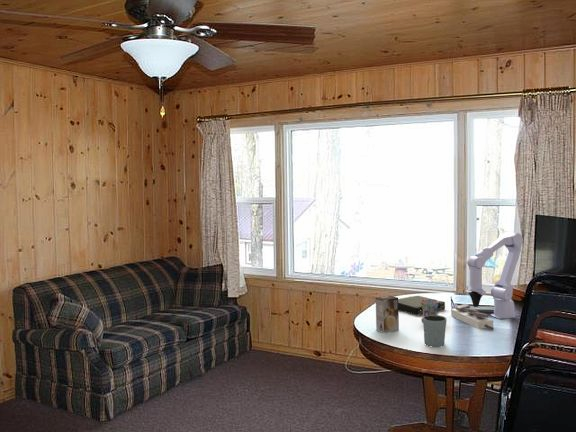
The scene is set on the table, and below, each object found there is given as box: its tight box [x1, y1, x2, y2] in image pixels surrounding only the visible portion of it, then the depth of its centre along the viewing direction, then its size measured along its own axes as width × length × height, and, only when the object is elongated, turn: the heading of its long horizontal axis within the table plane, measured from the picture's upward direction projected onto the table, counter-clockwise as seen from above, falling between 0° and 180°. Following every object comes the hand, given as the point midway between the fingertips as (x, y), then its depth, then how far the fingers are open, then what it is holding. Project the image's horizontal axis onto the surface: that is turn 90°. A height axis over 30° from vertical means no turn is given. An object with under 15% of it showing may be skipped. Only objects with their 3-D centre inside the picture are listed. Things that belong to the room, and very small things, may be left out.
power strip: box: [450, 308, 494, 331], centre depth 285 cm, size 8×32×4 cm, turn 13°
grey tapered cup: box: [422, 314, 448, 348], centre depth 251 cm, size 10×10×12 cm
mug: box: [420, 298, 440, 322], centre depth 290 cm, size 12×9×11 cm
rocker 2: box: [464, 308, 480, 313], centre depth 287 cm, size 6×4×2 cm, turn 103°
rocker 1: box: [455, 303, 471, 311], centre depth 295 cm, size 6×4×2 cm, turn 102°
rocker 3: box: [473, 311, 489, 318], centre depth 280 cm, size 6×4×2 cm, turn 103°
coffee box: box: [375, 295, 400, 333], centre depth 275 cm, size 9×6×16 cm
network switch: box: [398, 295, 446, 316], centre depth 316 cm, size 23×24×5 cm
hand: (475, 306), depth 288 cm, fingers closed
